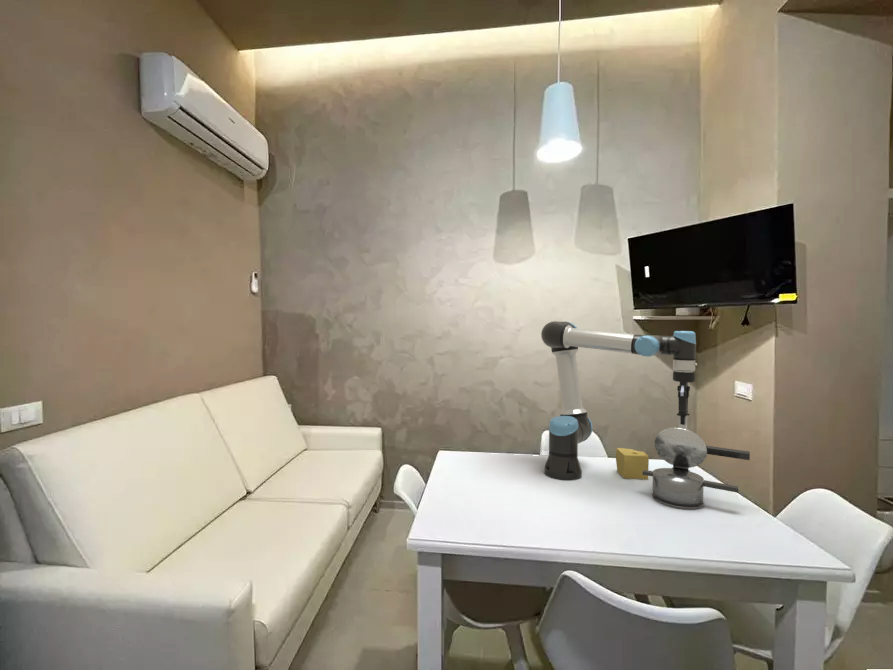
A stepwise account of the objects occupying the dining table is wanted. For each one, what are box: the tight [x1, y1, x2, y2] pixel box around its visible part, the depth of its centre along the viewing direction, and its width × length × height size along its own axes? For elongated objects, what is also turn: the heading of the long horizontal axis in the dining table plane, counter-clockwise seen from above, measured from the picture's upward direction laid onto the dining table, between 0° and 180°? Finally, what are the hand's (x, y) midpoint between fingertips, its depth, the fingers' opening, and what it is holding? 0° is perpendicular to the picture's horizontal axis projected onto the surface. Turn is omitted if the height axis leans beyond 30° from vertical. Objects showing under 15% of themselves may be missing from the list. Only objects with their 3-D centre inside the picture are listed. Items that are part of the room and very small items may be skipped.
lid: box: [654, 426, 751, 470], centre depth 157 cm, size 30×18×2 cm
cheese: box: [615, 447, 650, 480], centre depth 181 cm, size 10×11×10 cm
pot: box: [643, 467, 739, 511], centre depth 154 cm, size 29×18×9 cm, turn 56°
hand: (682, 432), depth 166 cm, fingers closed
